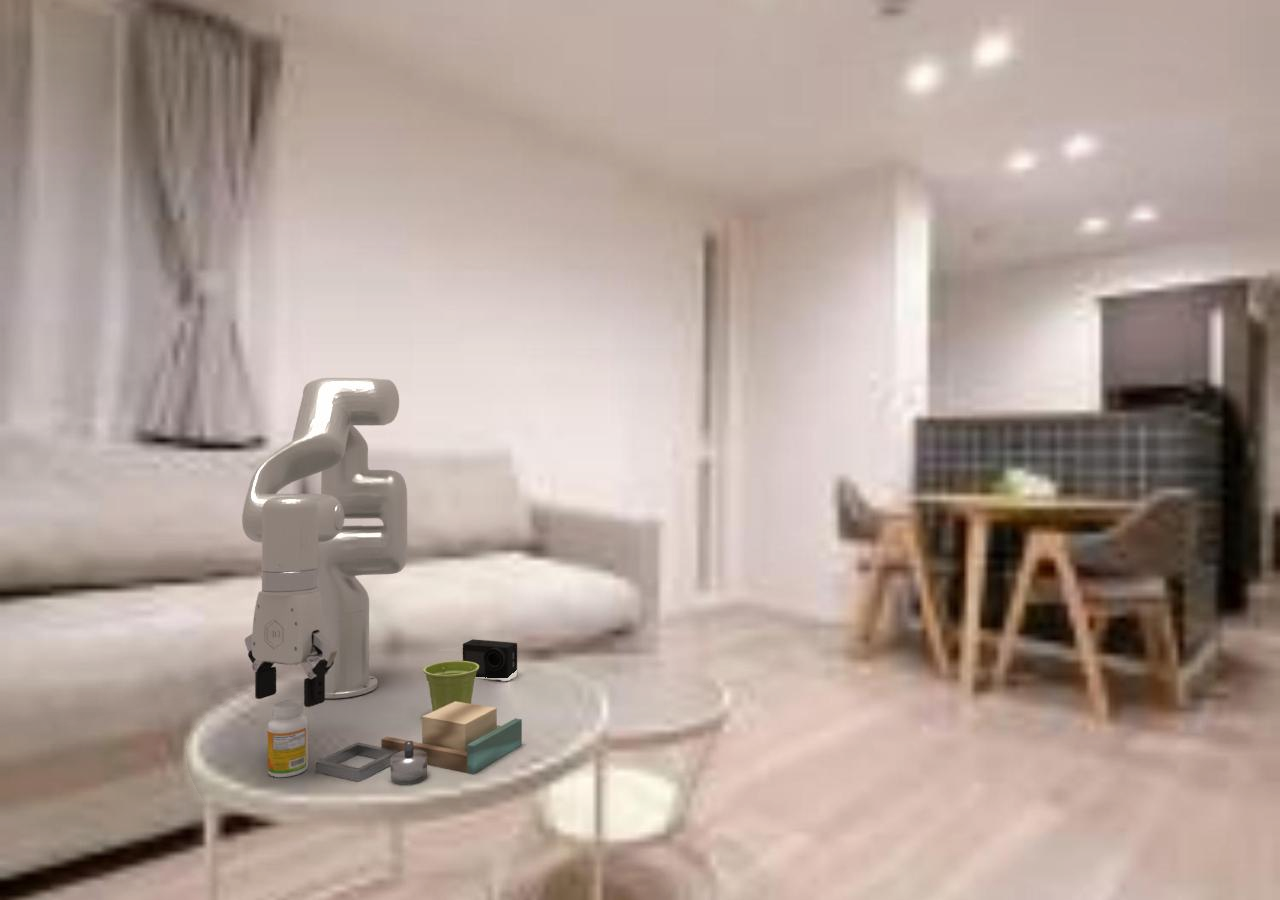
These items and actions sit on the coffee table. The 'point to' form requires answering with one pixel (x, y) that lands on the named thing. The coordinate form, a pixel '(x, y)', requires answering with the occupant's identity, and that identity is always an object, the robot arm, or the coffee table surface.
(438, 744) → the bay
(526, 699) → the coffee table surface
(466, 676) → the plant pot
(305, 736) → the supplement bottle
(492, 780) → the coffee table surface
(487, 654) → the digital camera
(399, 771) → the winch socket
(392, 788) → the coffee table surface
